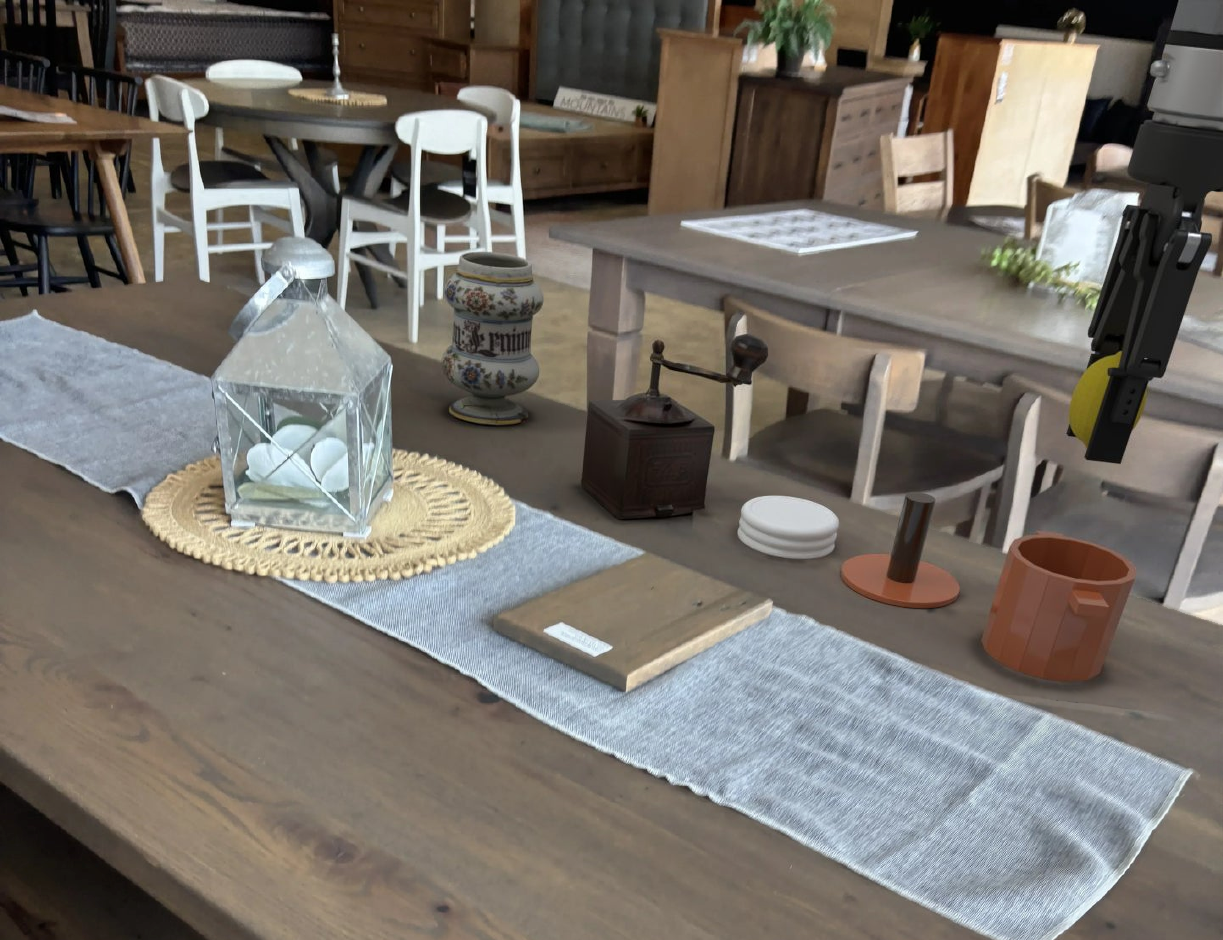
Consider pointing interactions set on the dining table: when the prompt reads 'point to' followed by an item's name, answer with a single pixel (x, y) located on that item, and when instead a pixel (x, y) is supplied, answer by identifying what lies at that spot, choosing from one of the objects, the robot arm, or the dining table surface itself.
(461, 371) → the apothecary jar
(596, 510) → the dining table surface
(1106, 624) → the pot
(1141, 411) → the lemon
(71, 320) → the dining table surface
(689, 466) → the coffee grinder
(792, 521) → the white stacked discs
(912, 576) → the lid
